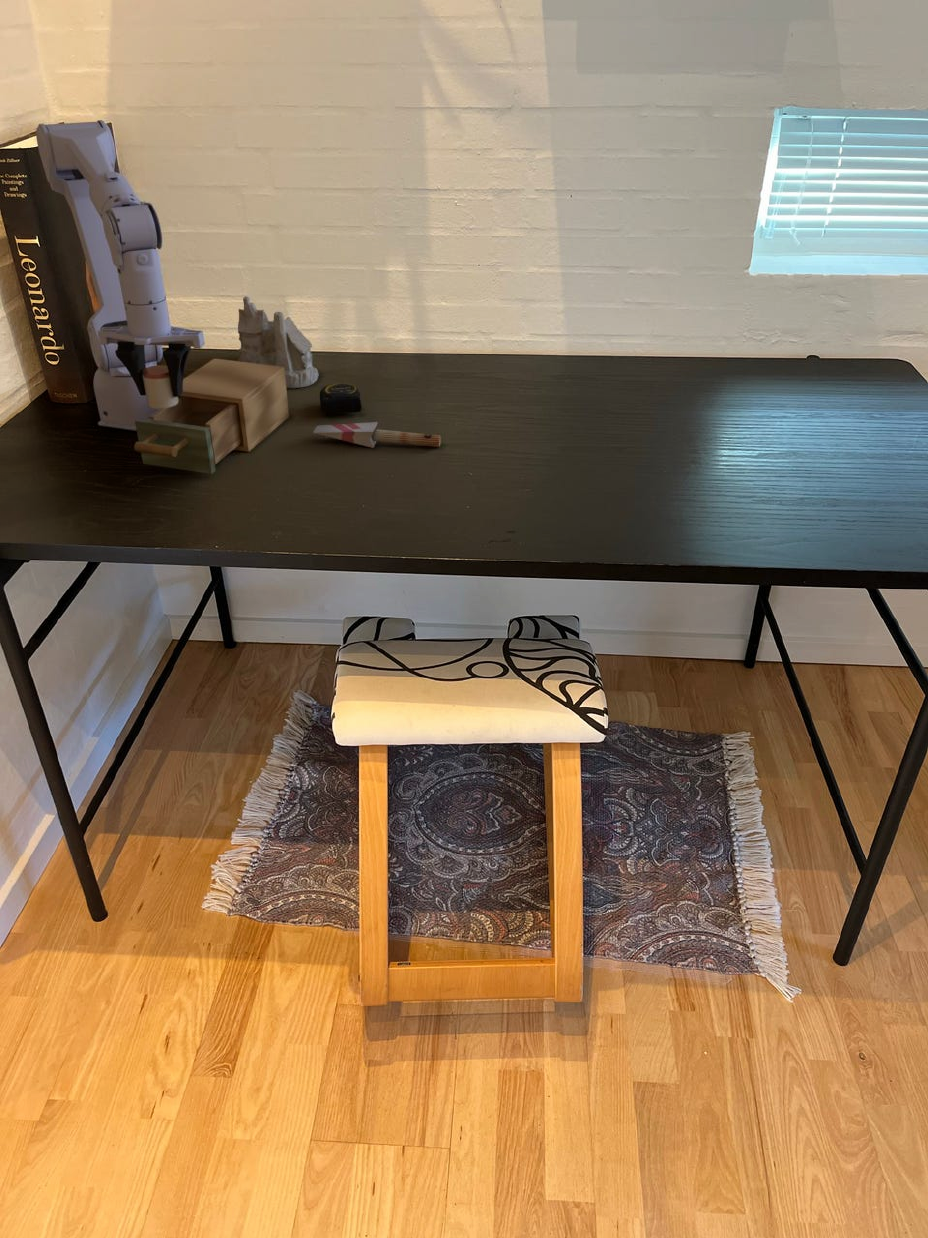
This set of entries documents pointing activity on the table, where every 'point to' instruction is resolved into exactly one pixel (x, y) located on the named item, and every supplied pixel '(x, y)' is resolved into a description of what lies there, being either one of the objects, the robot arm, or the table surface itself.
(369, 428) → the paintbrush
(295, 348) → the ceramic cottage
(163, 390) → the paint pot
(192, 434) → the drawer
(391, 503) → the table surface
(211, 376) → the cabinet
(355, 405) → the tape measure
